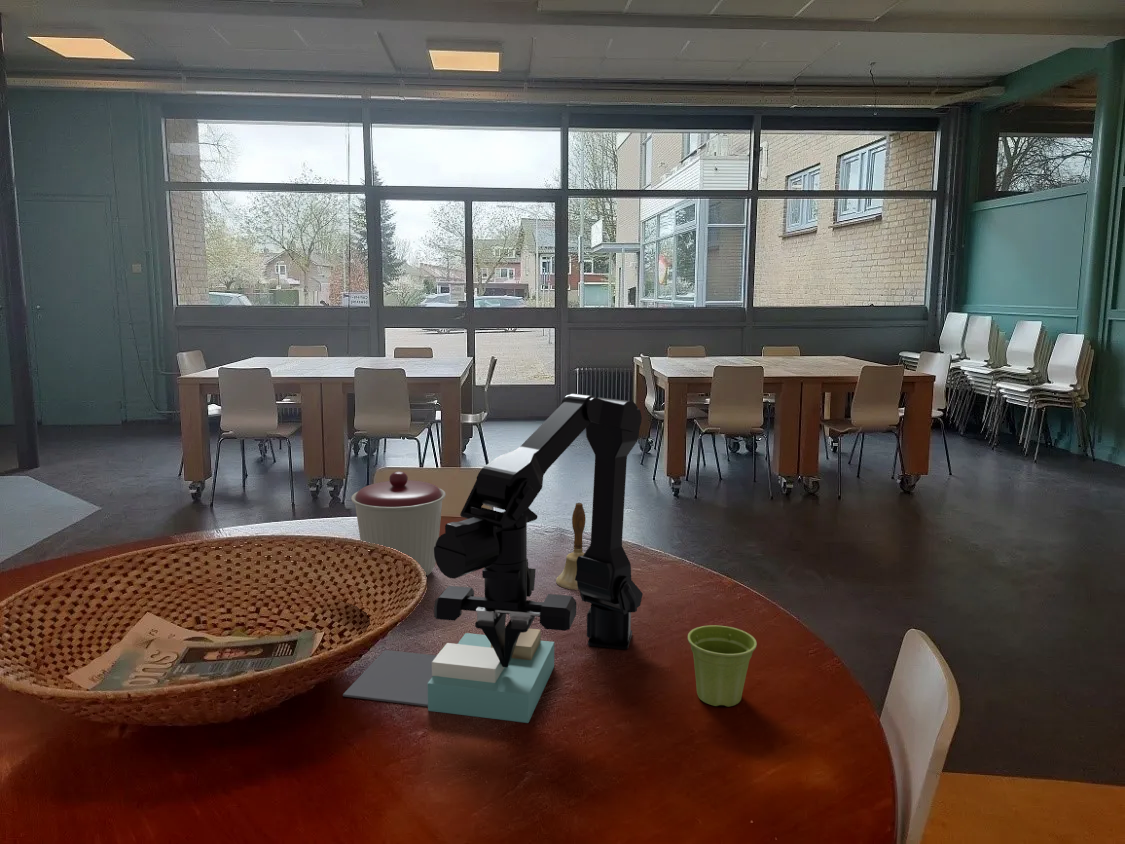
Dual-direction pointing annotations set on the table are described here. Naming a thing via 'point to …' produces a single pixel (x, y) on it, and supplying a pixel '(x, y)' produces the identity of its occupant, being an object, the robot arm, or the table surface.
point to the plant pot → (720, 662)
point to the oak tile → (527, 644)
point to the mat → (395, 679)
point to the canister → (401, 516)
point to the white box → (467, 663)
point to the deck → (495, 687)
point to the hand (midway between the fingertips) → (505, 665)
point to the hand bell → (570, 569)
